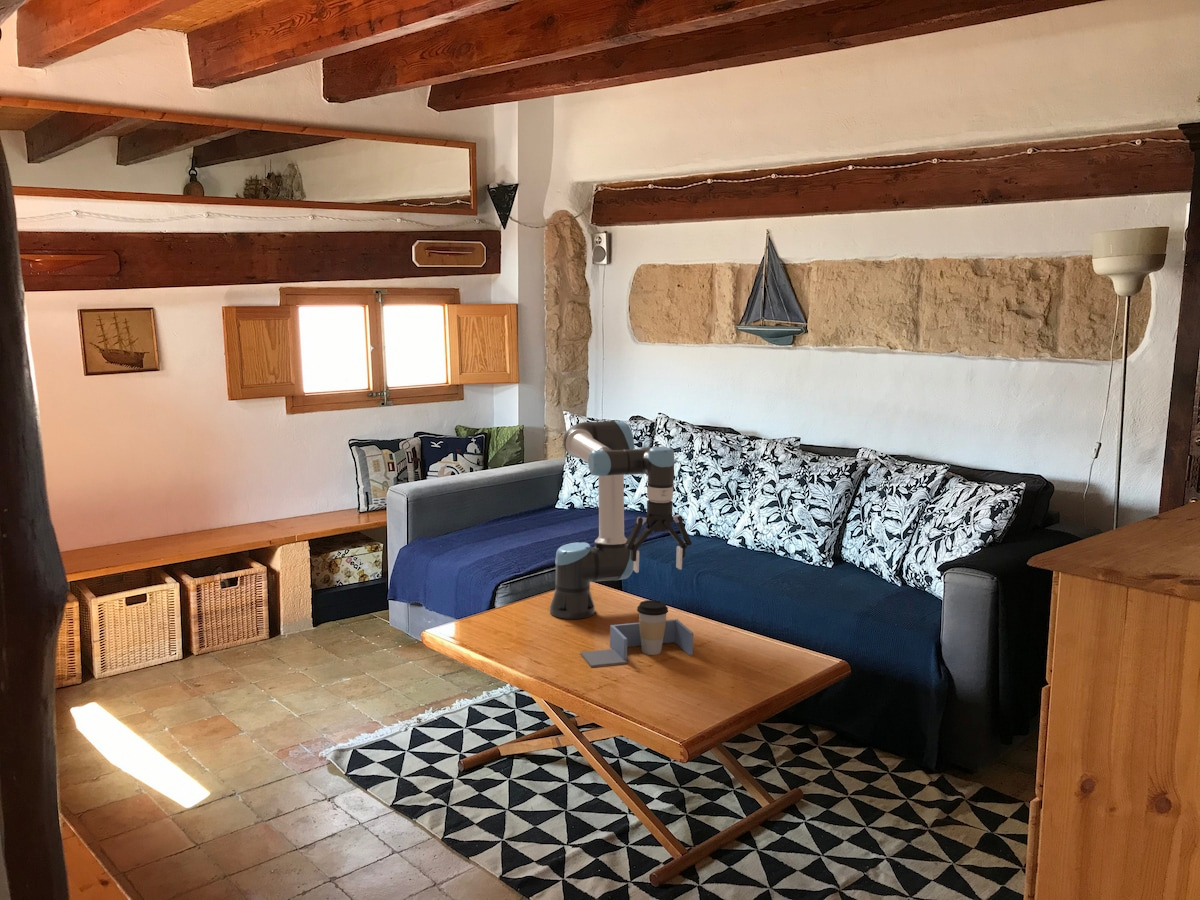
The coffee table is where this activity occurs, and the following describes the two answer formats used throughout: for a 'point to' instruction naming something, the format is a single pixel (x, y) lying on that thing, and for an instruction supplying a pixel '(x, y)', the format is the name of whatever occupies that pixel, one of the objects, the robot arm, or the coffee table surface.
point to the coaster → (602, 658)
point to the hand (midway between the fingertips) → (657, 569)
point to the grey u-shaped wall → (631, 637)
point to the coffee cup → (652, 625)
